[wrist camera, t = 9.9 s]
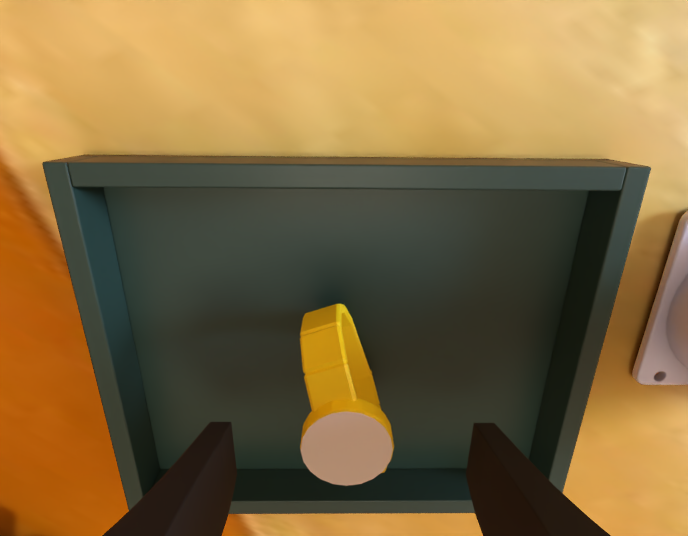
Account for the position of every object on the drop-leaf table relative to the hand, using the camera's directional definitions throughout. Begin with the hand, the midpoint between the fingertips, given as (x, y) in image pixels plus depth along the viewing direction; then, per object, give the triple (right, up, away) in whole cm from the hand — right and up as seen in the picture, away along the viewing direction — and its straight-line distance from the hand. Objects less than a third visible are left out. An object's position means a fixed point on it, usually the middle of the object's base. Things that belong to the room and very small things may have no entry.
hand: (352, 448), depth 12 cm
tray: (0, +2, +6) cm, 6 cm away
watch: (0, +2, +6) cm, 6 cm away
